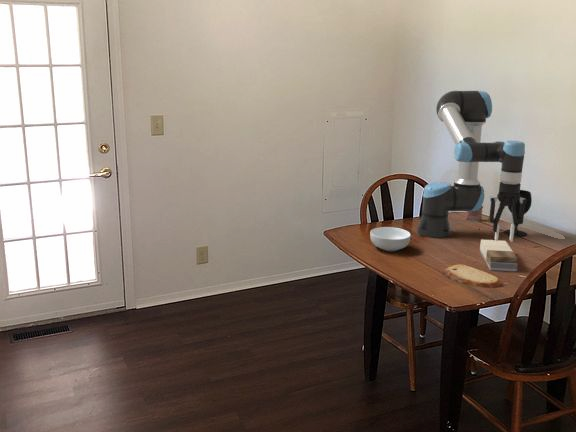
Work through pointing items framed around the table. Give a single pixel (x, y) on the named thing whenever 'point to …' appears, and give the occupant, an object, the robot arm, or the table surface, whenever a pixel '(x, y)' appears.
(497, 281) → the bread slice
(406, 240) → the cereal bowl
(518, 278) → the table surface
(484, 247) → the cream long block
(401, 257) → the table surface
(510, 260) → the tan brown block
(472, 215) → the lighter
